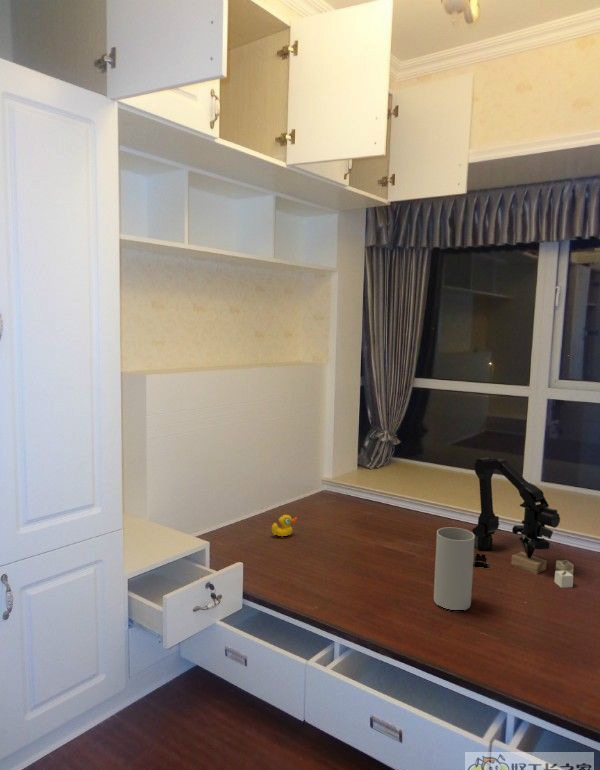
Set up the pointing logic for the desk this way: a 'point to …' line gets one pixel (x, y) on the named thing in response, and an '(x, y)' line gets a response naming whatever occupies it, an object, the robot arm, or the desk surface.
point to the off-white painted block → (563, 579)
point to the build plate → (480, 564)
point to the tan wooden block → (529, 562)
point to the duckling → (283, 526)
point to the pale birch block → (564, 566)
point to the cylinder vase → (454, 568)
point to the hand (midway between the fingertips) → (529, 557)
